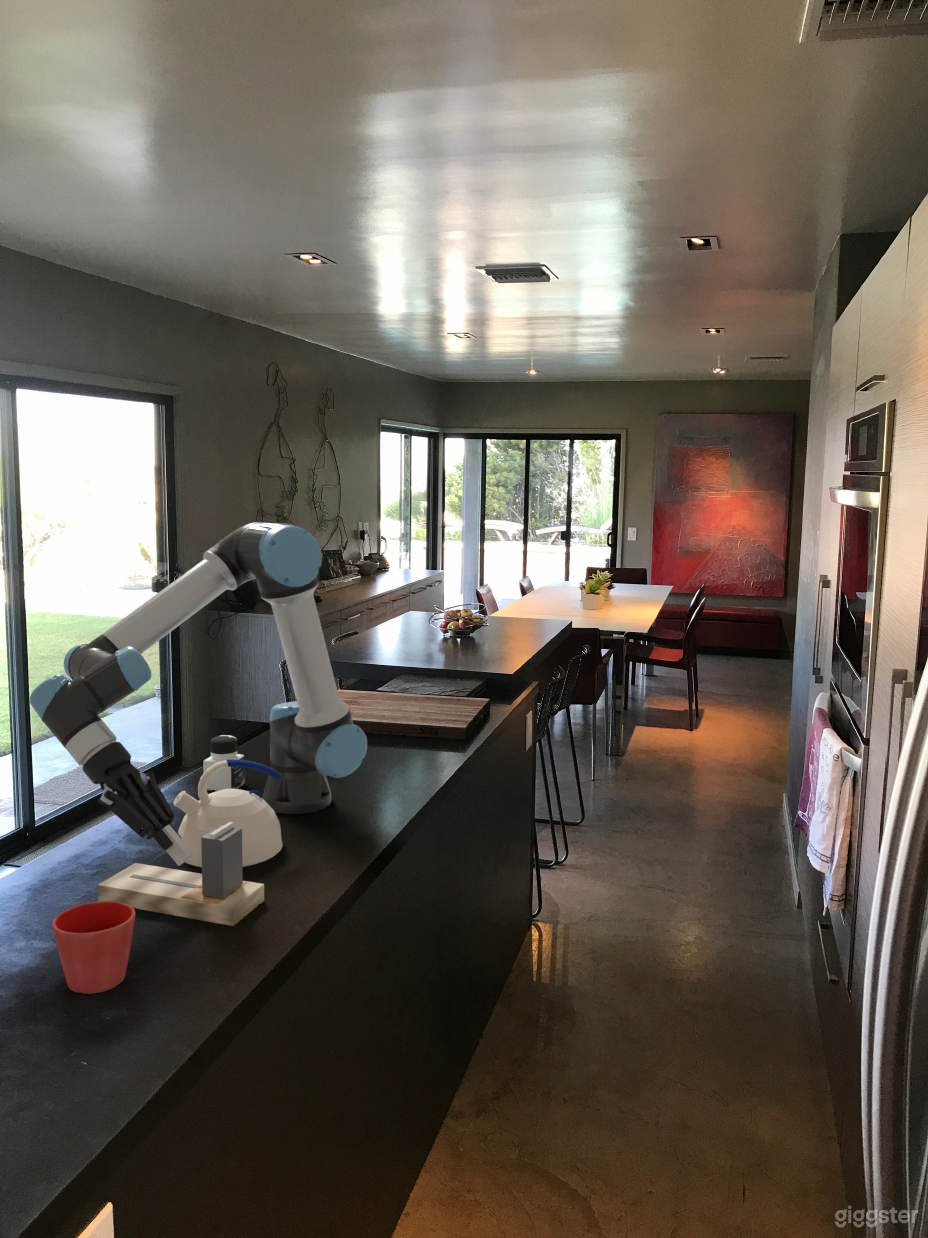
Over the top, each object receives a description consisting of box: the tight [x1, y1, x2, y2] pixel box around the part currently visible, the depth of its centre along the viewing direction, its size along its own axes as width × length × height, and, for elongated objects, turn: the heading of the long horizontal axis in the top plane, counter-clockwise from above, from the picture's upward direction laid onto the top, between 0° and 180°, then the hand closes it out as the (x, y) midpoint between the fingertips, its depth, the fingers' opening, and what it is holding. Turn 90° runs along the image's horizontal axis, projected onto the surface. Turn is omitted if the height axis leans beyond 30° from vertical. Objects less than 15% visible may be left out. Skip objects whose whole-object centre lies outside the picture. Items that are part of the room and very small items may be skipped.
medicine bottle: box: [202, 734, 246, 792], centre depth 220 cm, size 7×7×12 cm
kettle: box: [173, 759, 283, 868], centre depth 183 cm, size 20×21×18 cm
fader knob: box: [201, 822, 244, 899], centre depth 157 cm, size 4×6×11 cm, turn 162°
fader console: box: [97, 862, 265, 927], centre depth 160 cm, size 26×10×3 cm, turn 73°
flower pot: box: [51, 901, 136, 994], centre depth 134 cm, size 11×11×10 cm
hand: (185, 860), depth 159 cm, fingers closed
